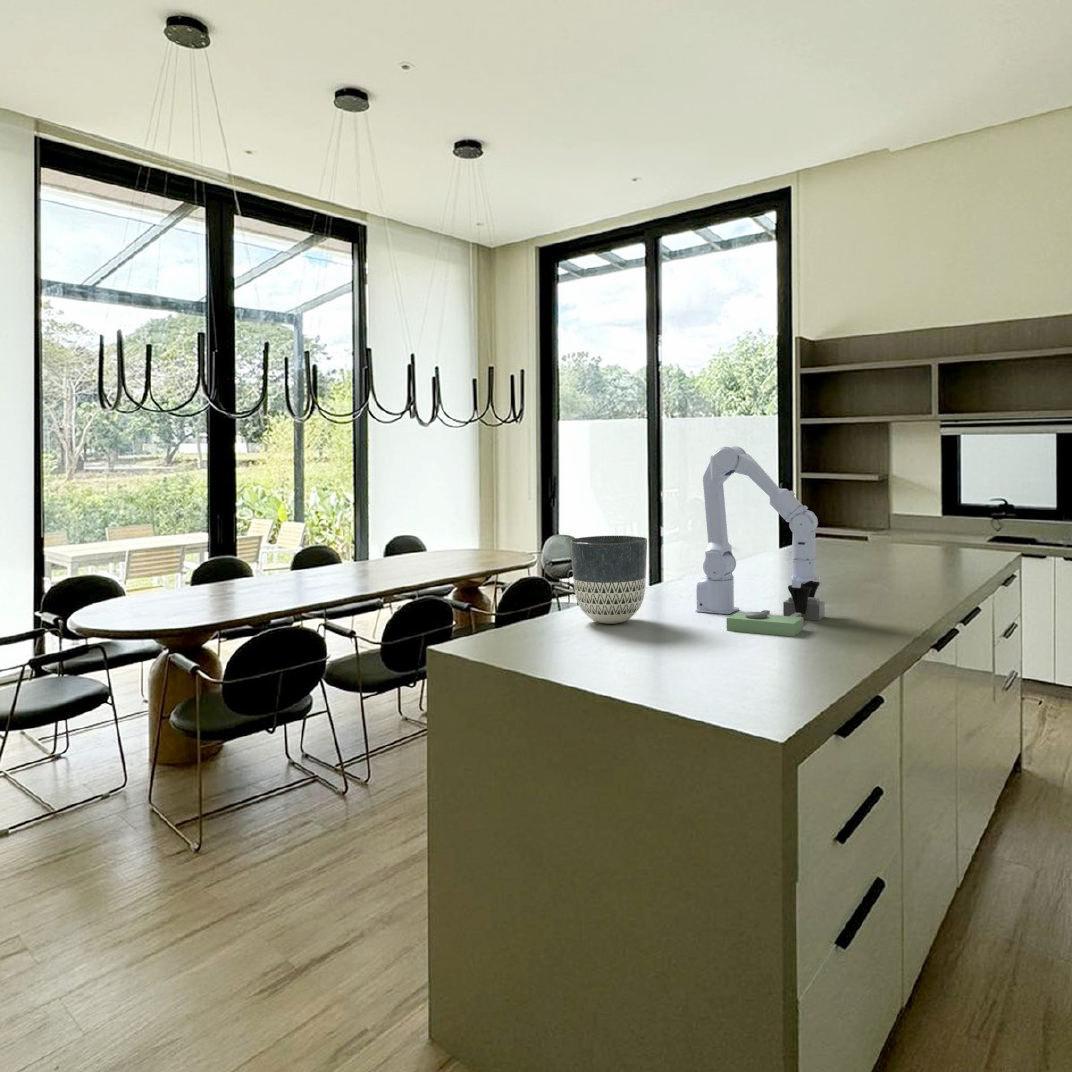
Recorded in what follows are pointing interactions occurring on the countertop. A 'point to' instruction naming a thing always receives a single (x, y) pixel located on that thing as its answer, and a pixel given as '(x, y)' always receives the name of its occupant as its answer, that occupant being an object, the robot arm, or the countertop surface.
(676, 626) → the countertop surface
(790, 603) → the stepped grey block
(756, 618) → the deck
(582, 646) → the countertop surface
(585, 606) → the planter
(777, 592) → the countertop surface
